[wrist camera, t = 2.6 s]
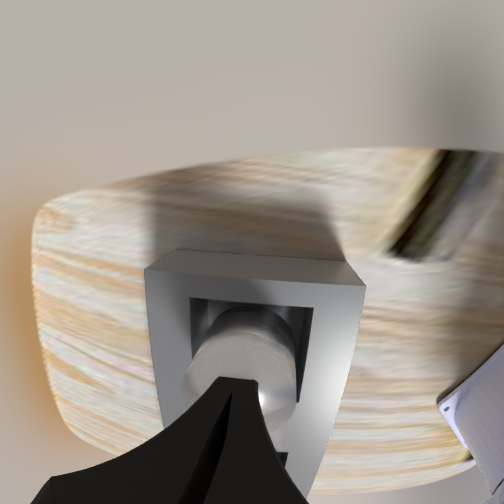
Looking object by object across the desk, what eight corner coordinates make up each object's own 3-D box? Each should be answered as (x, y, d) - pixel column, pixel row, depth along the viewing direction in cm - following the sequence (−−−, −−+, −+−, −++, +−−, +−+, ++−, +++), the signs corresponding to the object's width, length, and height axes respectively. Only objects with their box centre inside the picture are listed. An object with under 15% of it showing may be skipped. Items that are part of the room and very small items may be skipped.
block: (305, 459, 18) (306, 499, 14) (191, 447, 19) (177, 484, 15) (346, 261, 15) (366, 286, 11) (176, 249, 16) (144, 269, 12)
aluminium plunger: (289, 381, 13) (288, 441, 9) (208, 373, 14) (186, 428, 10) (299, 308, 12) (303, 358, 9) (207, 300, 13) (177, 345, 9)
